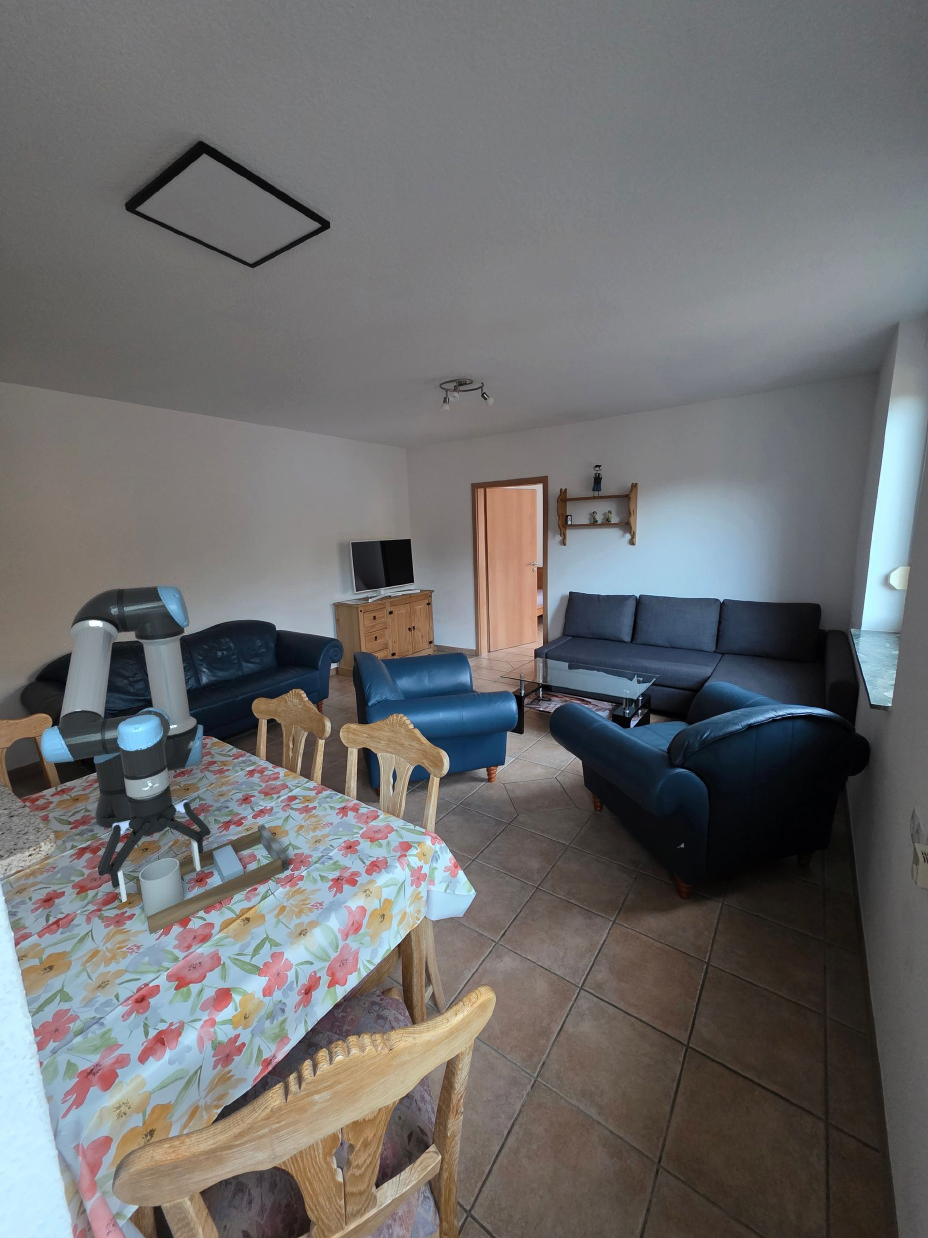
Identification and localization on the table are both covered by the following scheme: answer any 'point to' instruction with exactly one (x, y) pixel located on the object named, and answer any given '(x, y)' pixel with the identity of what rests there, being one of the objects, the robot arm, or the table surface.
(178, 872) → the cup
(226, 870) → the block
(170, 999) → the table surface
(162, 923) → the channel
